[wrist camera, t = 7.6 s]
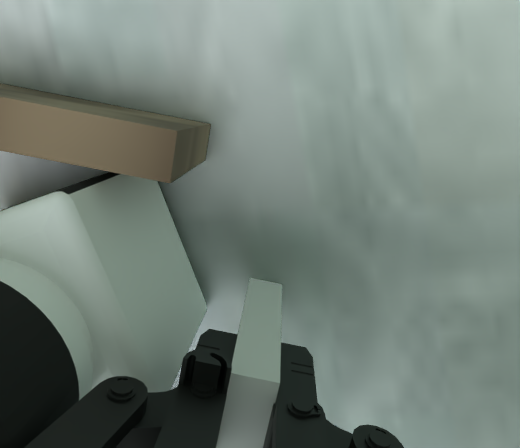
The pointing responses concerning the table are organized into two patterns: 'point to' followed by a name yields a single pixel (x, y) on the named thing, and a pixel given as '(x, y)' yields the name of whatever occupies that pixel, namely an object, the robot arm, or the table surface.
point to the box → (99, 135)
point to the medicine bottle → (89, 298)
